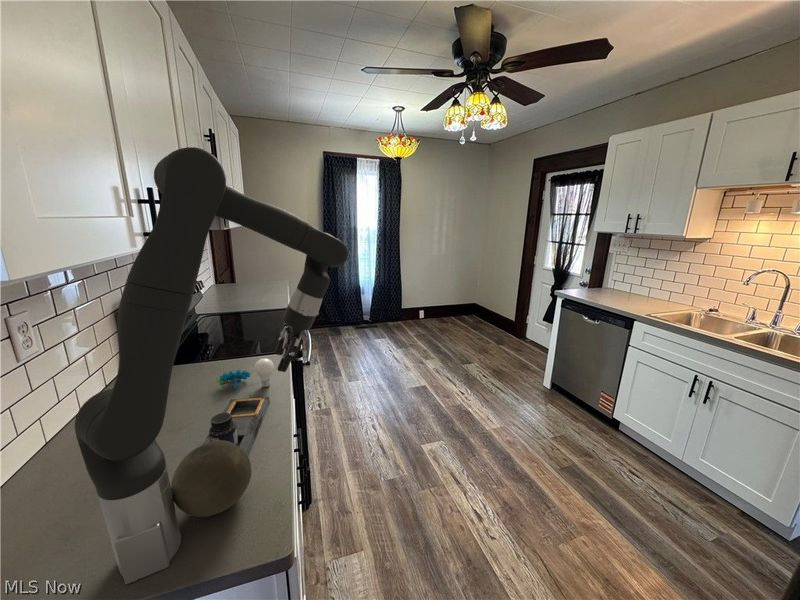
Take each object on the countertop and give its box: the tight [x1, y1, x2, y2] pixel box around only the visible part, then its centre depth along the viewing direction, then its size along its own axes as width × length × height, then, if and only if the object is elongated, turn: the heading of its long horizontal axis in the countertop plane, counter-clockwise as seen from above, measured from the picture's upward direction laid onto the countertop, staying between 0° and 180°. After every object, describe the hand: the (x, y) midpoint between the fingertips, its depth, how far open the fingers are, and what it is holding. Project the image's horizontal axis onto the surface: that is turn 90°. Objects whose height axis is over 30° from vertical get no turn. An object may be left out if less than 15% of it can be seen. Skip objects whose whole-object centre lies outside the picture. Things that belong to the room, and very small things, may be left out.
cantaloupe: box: [170, 440, 252, 518], centre depth 67 cm, size 14×14×15 cm
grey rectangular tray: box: [201, 396, 271, 456], centre depth 92 cm, size 28×12×3 cm, turn 9°
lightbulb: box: [254, 357, 275, 388], centre depth 115 cm, size 6×6×11 cm
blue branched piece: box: [216, 369, 251, 392], centre depth 115 cm, size 11×6×10 cm
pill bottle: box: [208, 412, 239, 447], centre depth 83 cm, size 6×6×11 cm
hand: (279, 362), depth 84 cm, fingers open, 8 cm apart
